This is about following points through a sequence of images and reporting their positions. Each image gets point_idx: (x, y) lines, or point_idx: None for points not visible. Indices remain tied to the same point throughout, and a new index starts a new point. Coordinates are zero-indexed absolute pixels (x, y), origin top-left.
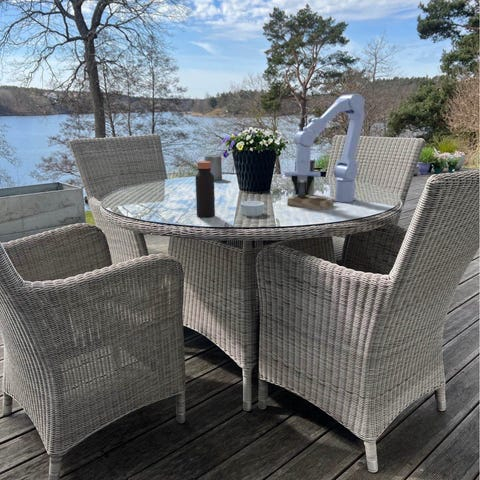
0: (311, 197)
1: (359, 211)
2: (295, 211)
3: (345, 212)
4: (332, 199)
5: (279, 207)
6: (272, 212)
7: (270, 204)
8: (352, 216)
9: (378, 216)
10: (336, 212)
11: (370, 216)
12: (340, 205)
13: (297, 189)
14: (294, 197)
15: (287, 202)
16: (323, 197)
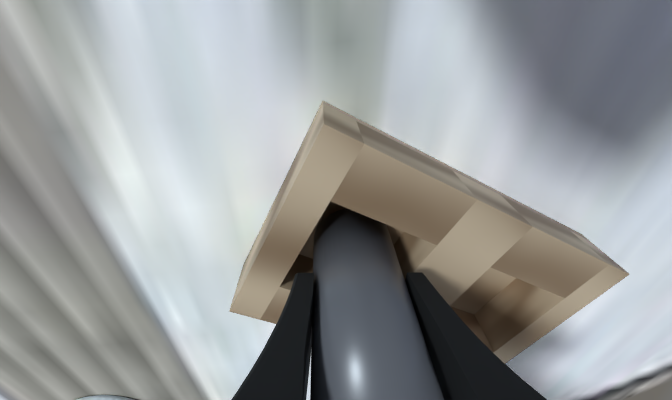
0: (448, 263)
1: (639, 336)
2: (310, 368)
3: (555, 356)
4: (606, 281)
5: (202, 314)
6: (198, 392)
7: (101, 248)
8: (545, 396)
9: (652, 385)
10: (511, 361)
11: (619, 389)
12: (640, 223)
13: (310, 315)
14: (286, 272)
15: (238, 282)
16: (562, 251)
